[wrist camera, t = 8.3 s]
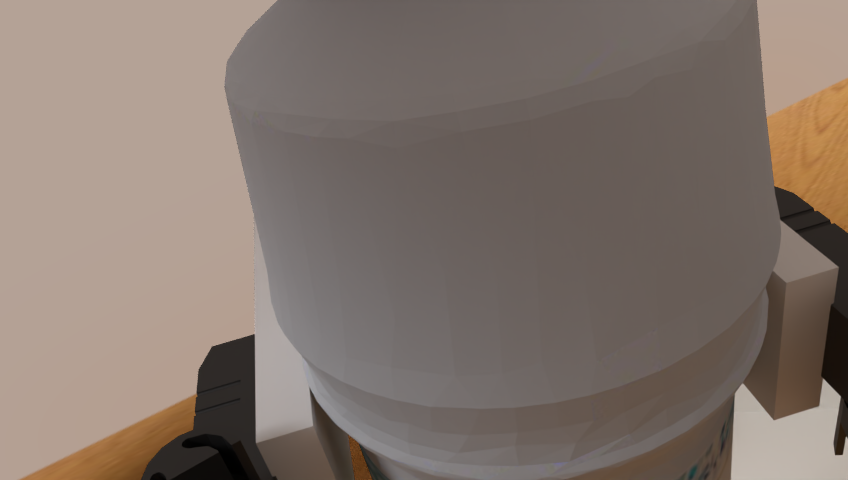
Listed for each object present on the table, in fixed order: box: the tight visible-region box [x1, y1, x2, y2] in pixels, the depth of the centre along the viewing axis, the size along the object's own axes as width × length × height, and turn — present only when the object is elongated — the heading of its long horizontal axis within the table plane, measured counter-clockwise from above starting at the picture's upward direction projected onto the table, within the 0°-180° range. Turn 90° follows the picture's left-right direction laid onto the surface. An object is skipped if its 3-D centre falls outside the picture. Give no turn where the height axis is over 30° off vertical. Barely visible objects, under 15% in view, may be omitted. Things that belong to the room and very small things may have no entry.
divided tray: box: [731, 379, 848, 480], centre depth 31 cm, size 19×14×9 cm
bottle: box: [225, 0, 781, 480], centre depth 12 cm, size 7×7×20 cm
